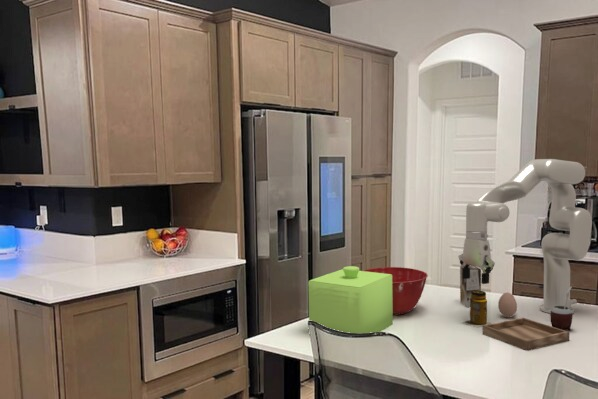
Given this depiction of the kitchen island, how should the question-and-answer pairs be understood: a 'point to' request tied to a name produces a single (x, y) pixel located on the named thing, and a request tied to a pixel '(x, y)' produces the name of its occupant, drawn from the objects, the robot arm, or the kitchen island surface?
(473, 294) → the condiment
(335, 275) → the canister
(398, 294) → the mixing bowl
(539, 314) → the kitchen island surface
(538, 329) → the tray
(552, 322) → the mate gourd
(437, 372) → the kitchen island surface
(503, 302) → the egg
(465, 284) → the coffee box
